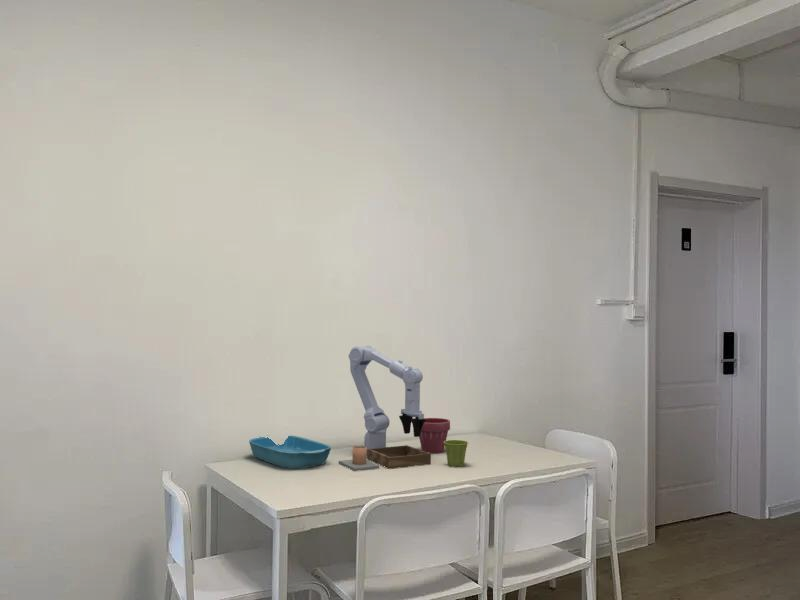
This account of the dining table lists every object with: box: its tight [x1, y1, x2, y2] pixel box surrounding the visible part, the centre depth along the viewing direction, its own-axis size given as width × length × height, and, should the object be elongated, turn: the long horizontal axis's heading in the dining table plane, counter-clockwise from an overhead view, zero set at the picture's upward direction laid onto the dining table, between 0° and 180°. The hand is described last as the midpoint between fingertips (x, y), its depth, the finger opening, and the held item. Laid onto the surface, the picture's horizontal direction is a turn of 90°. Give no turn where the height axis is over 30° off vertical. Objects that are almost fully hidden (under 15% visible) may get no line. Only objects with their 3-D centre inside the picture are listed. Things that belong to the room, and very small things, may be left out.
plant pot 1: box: [418, 417, 451, 454], centre depth 300 cm, size 14×14×13 cm
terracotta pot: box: [351, 445, 367, 465], centre depth 270 cm, size 5×5×6 cm
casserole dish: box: [248, 434, 332, 470], centre depth 278 cm, size 37×22×7 cm, turn 42°
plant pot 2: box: [444, 439, 469, 467], centre depth 275 cm, size 9×9×9 cm
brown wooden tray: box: [366, 445, 432, 469], centre depth 279 cm, size 18×18×4 cm
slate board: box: [338, 459, 380, 472], centre depth 270 cm, size 14×10×1 cm
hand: (411, 435), depth 284 cm, fingers open, 7 cm apart
